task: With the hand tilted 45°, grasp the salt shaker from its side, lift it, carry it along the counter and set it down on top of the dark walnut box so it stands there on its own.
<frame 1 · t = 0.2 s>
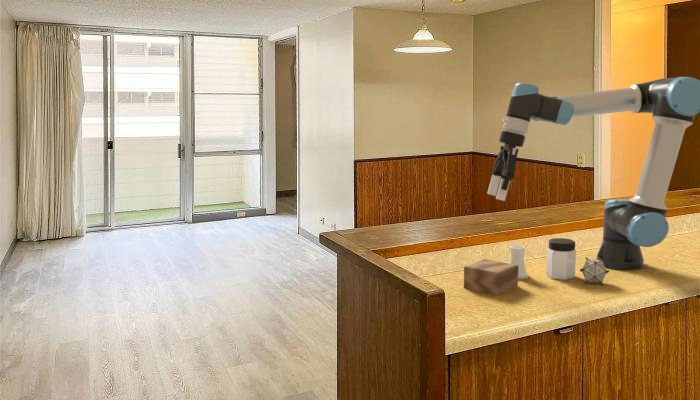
hand: (495, 197, 190), 27 cm above the countertop, tool tilted 15°, fingers open, 13 cm apart
walnut box: (490, 287, 186), on the countertop
salt shaker: (516, 276, 197), on the countertop
jar: (560, 276, 196), on the countertop
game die: (593, 283, 188), on the countertop
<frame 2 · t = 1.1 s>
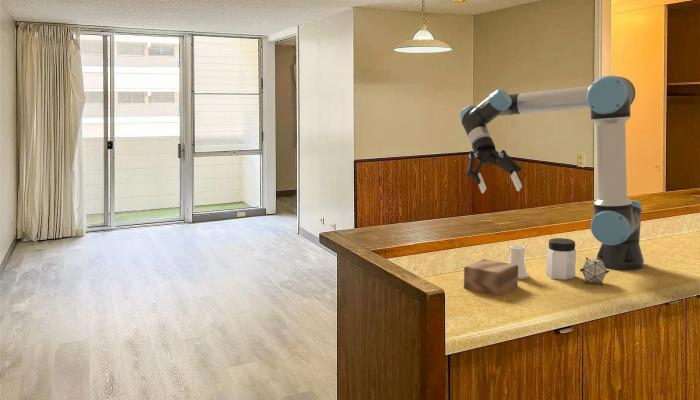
hand: (502, 189, 202), 27 cm above the countertop, tool tilted 45°, fingers open, 13 cm apart
nothing on the countertop moved.
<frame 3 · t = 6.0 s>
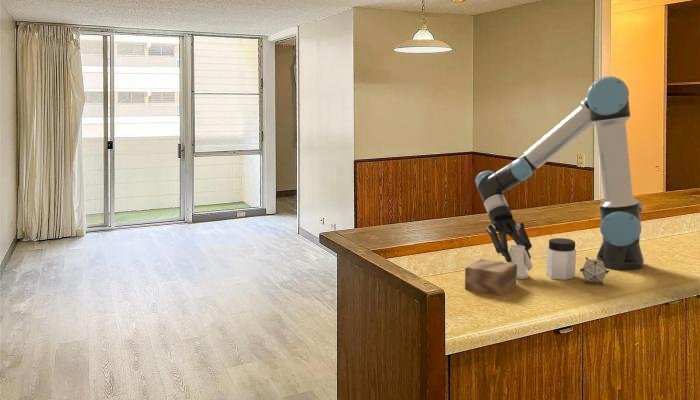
hand: (522, 269, 193), 3 cm above the countertop, tool tilted 45°, fingers closed on salt shaker, 5 cm apart
salt shaker: (516, 276, 197), on the countertop, touching gripper
when the fingers open (12 cm above the countertop, at t = 10.0 s): salt shaker drops 2 cm, resting on walnut box.
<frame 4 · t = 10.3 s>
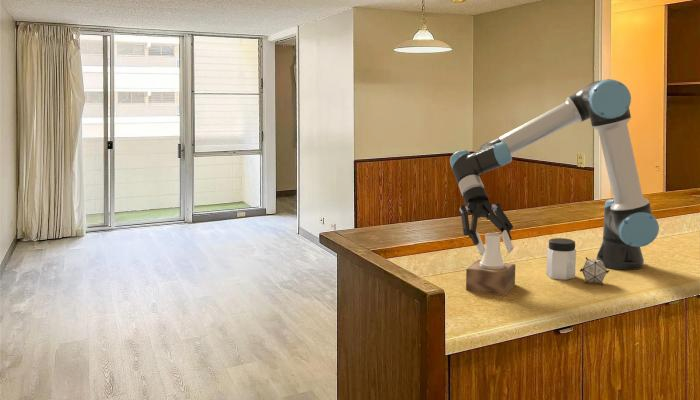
hand: (497, 251, 181), 12 cm above the countertop, tool tilted 45°, fingers open, 9 cm apart
walnut box: (490, 288, 186), on the countertop, touching salt shaker
salt shaker: (492, 266, 185), point 7 cm above the countertop, touching walnut box
everything else where it was.
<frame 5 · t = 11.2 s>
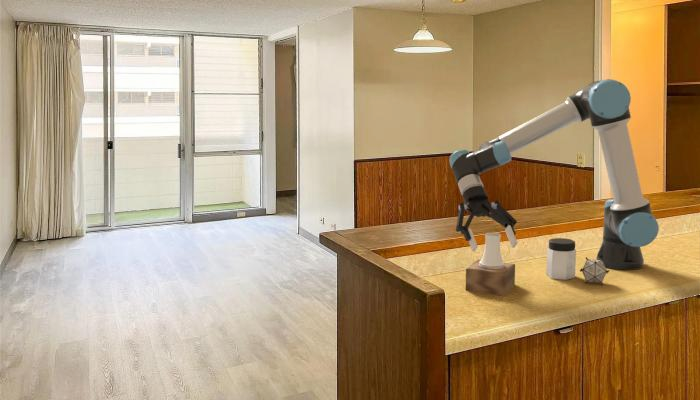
hand: (495, 247, 182), 13 cm above the countertop, tool tilted 45°, fingers open, 13 cm apart
nothing on the countertop moved.
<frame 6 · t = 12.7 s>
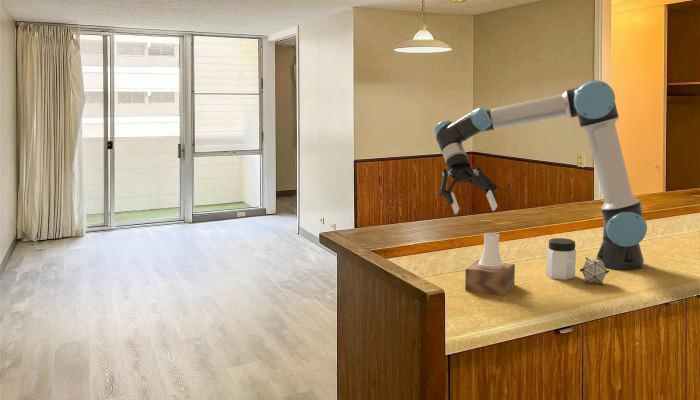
hand: (476, 210, 192), 23 cm above the countertop, tool tilted 45°, fingers open, 13 cm apart
nothing on the countertop moved.
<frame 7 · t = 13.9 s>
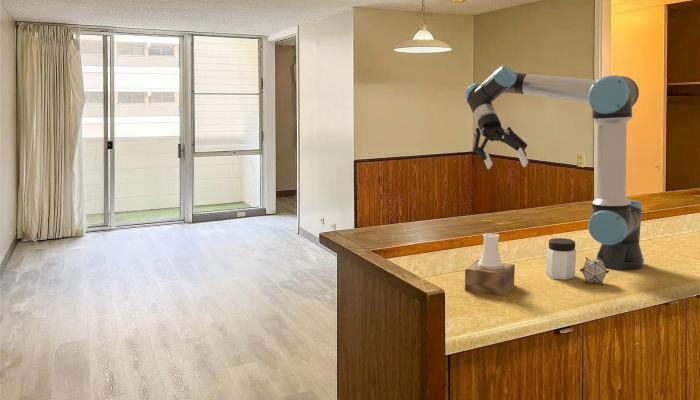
hand: (508, 165, 202), 36 cm above the countertop, tool tilted 45°, fingers open, 13 cm apart
nothing on the countertop moved.
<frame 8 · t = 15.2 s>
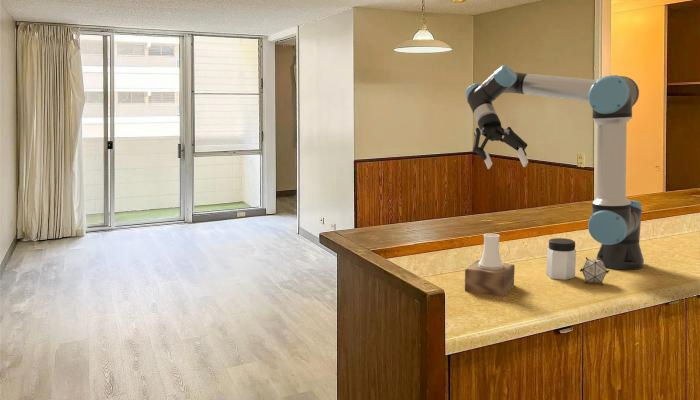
hand: (508, 165, 202), 36 cm above the countertop, tool tilted 45°, fingers open, 13 cm apart
nothing on the countertop moved.
at the end: salt shaker inside the target area on the walnut box (0.3 cm from its centre), point 7.0 cm above the walnut box's base; salt shaker tilted 0°; the gripper is holding nothing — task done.
